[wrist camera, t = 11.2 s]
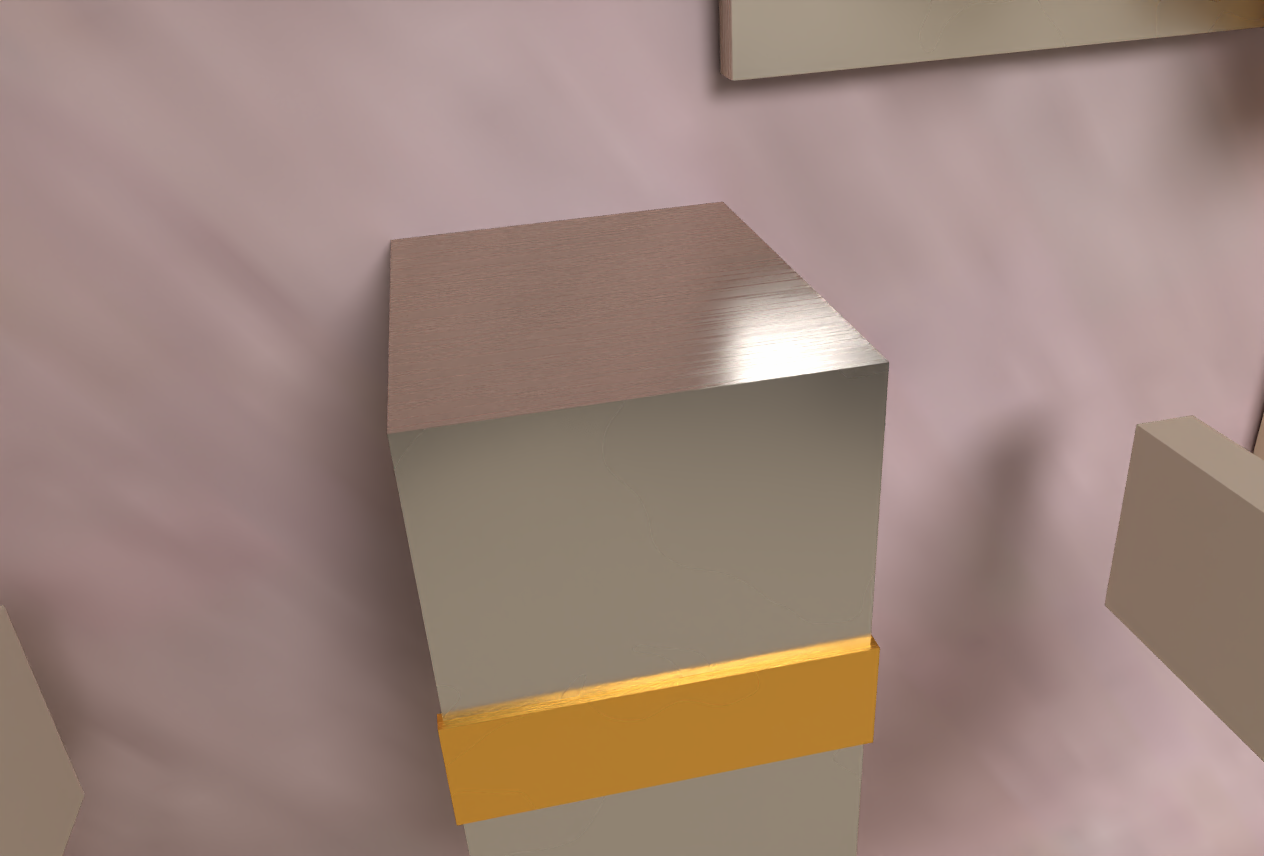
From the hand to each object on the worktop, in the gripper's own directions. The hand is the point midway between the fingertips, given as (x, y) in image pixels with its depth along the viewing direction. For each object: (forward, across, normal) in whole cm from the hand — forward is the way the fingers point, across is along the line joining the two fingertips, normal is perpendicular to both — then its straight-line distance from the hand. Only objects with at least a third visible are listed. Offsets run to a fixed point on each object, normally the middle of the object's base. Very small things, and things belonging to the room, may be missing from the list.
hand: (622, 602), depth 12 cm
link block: (+2, 0, +1) cm, 2 cm away
